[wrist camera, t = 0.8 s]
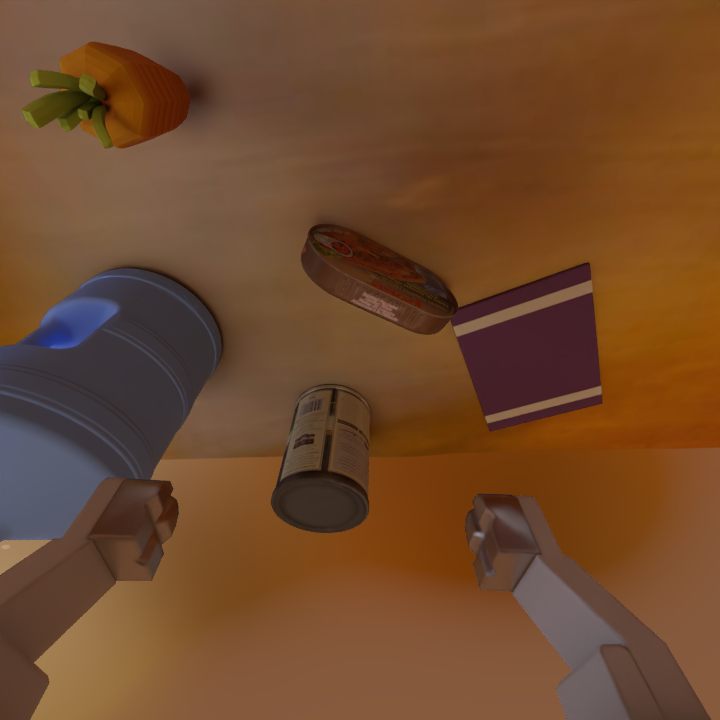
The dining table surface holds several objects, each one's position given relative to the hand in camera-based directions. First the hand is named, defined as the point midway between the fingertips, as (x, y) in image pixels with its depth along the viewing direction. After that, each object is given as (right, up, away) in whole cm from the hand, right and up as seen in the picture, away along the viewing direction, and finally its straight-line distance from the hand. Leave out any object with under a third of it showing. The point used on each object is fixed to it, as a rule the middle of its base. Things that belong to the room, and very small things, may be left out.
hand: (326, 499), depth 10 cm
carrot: (-13, +25, +19) cm, 34 cm away
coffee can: (-3, -3, +40) cm, 40 cm away
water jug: (-23, +8, +33) cm, 41 cm away
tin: (+3, +14, +27) cm, 30 cm away
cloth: (+21, +4, +33) cm, 39 cm away
